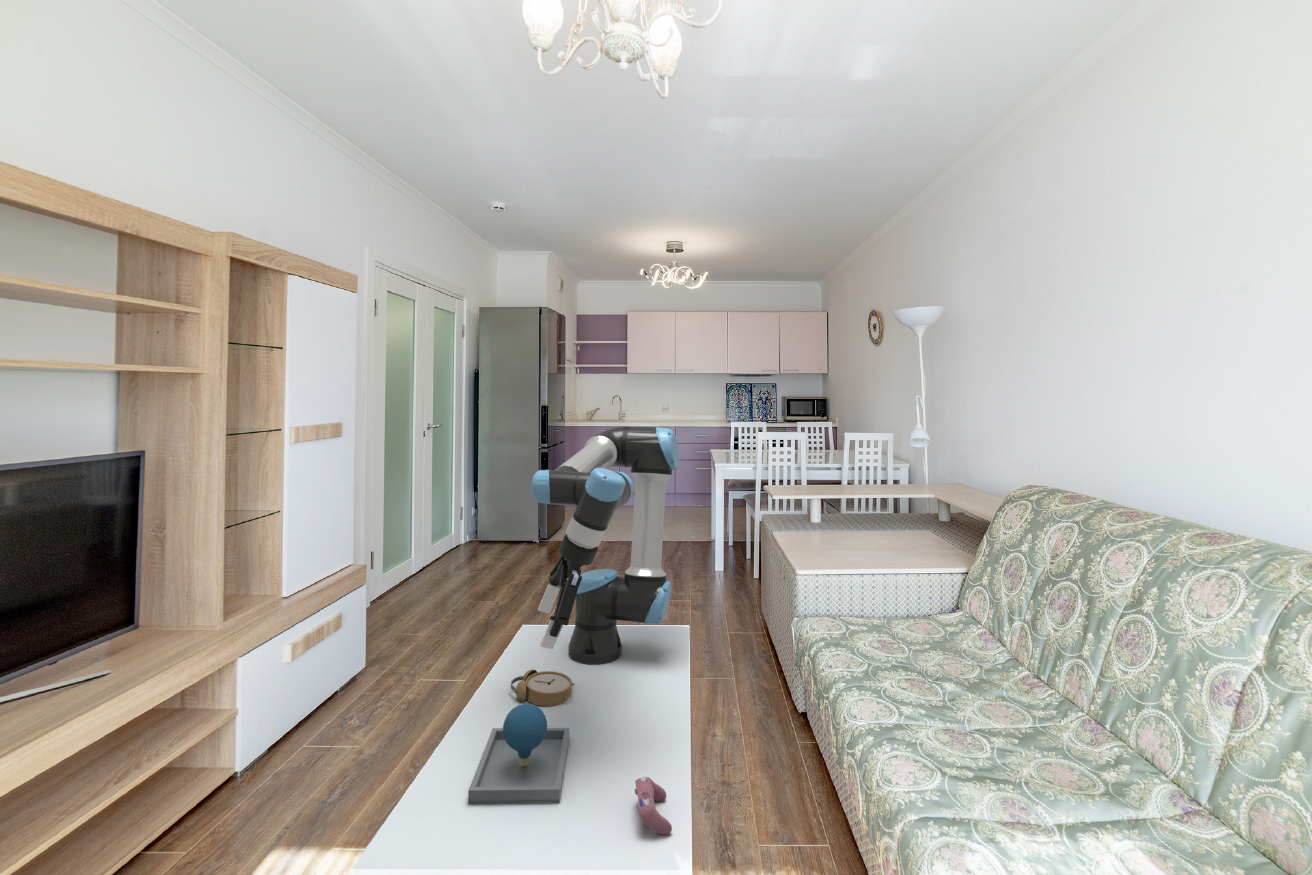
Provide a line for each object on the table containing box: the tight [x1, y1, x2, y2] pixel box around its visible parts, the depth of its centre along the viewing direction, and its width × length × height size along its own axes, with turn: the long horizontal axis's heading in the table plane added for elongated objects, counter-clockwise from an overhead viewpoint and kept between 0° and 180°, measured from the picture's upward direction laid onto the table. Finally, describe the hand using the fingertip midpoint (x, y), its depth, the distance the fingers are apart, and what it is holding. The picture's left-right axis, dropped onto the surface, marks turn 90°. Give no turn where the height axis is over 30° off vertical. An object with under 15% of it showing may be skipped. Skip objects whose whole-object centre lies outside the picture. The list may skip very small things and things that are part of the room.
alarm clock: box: [510, 669, 576, 707], centre depth 145 cm, size 11×5×15 cm
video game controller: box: [634, 775, 673, 836], centre depth 103 cm, size 10×5×7 cm, turn 5°
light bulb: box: [502, 703, 548, 767], centre depth 115 cm, size 8×8×12 cm
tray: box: [467, 727, 571, 805], centre depth 116 cm, size 20×16×2 cm
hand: (544, 628), depth 127 cm, fingers open, 13 cm apart
